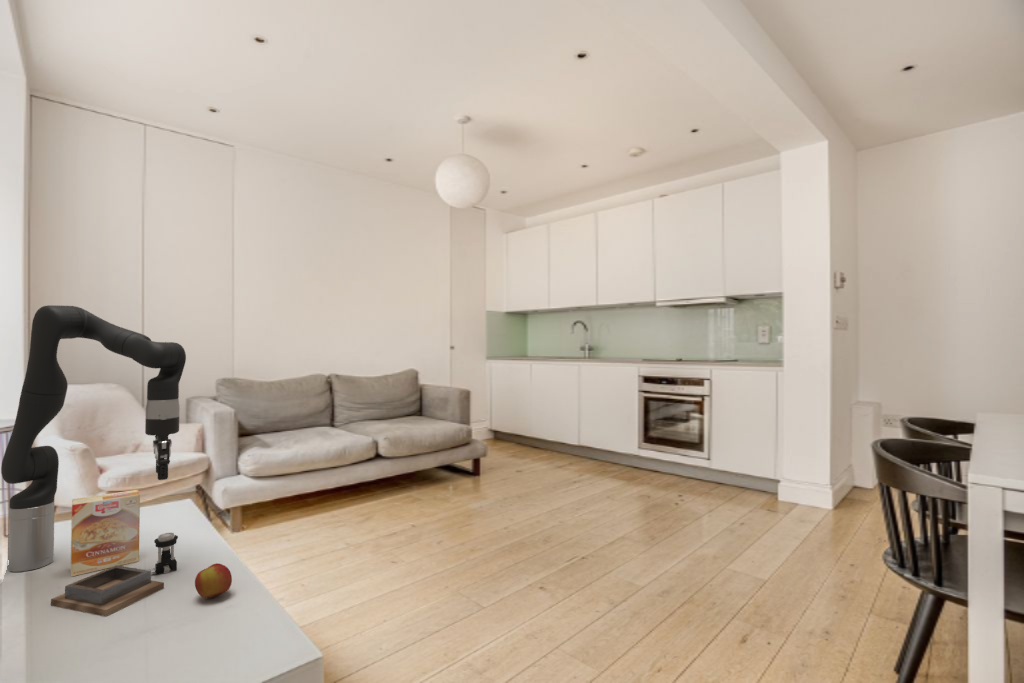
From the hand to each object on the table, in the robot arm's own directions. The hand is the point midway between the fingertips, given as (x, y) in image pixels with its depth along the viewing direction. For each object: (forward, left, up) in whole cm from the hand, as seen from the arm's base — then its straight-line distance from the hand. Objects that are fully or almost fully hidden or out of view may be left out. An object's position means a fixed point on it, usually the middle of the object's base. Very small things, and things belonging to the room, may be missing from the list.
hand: (161, 475), depth 135 cm
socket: (-2, -12, -25) cm, 28 cm away
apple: (+23, -5, -27) cm, 36 cm away
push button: (-2, +2, -27) cm, 27 cm away
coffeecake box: (-22, +1, -27) cm, 35 cm away
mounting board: (-2, -12, -27) cm, 30 cm away
